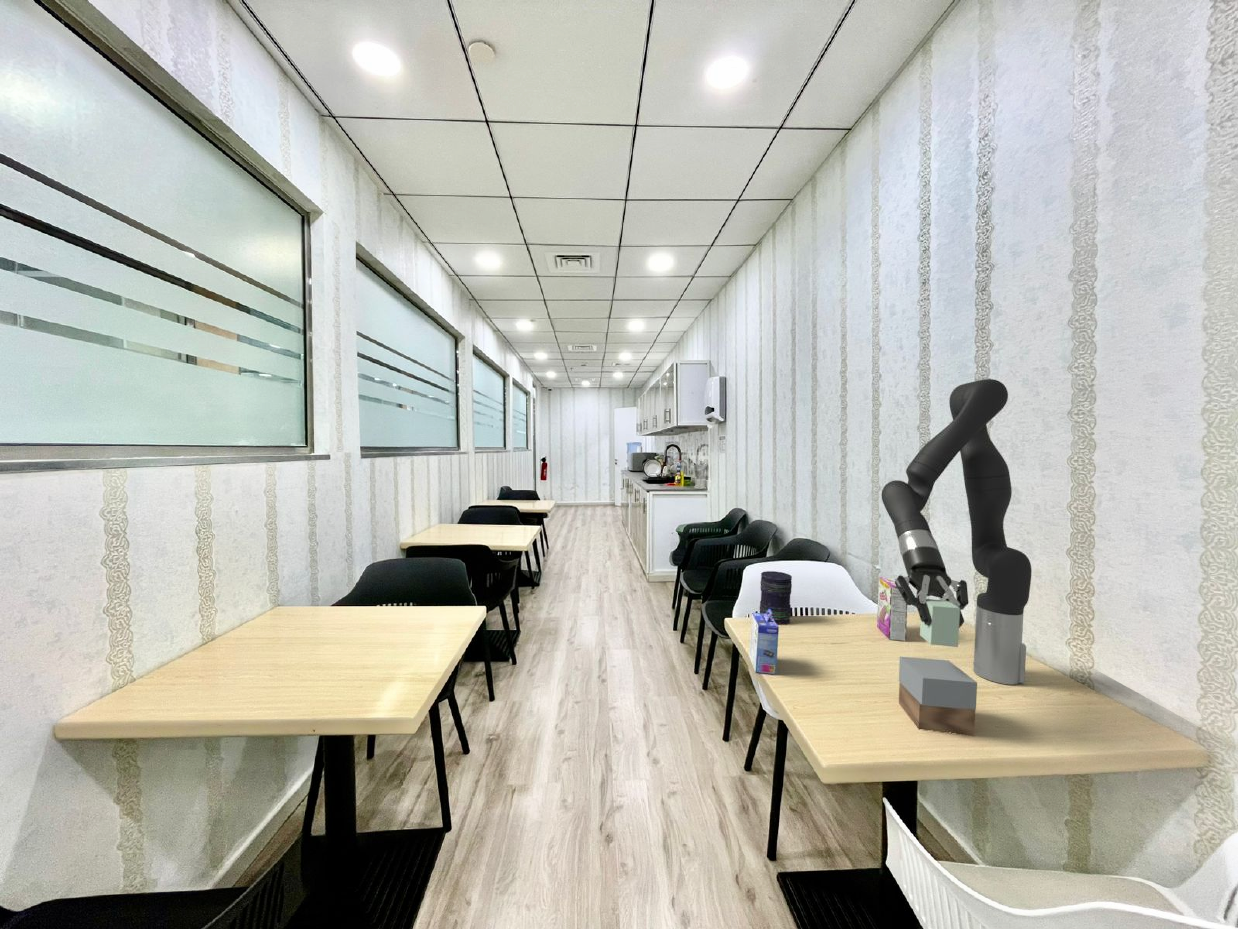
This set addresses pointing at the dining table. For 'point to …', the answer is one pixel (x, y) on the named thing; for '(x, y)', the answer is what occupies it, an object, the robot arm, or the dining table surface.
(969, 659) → the dining table surface
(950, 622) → the sage block
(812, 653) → the dining table surface
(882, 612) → the candy bar box
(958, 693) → the tower top
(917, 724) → the tower base
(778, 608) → the storage jar
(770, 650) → the ink cartridge box
